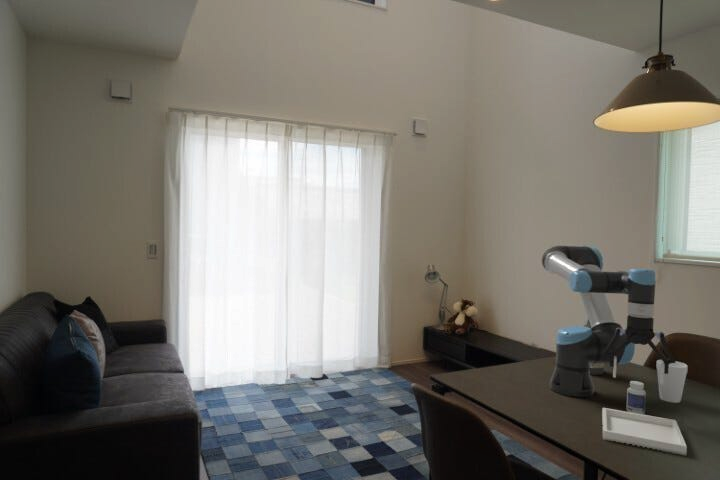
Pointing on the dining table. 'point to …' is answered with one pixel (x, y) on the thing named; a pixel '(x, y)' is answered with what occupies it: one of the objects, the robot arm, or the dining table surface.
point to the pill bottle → (636, 398)
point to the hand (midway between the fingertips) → (637, 379)
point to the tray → (643, 431)
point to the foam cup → (672, 381)
